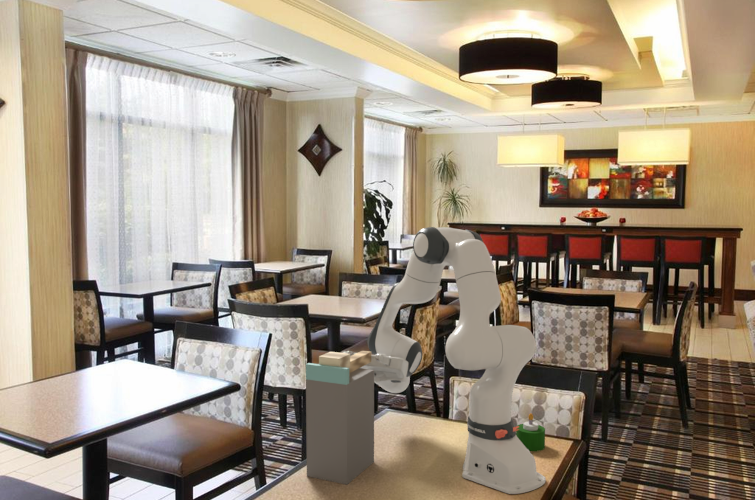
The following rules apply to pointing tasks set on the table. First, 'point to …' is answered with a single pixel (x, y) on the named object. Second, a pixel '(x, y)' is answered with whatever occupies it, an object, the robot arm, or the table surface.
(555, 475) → the table surface
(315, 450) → the pedestal
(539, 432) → the candle
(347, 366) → the mallet
